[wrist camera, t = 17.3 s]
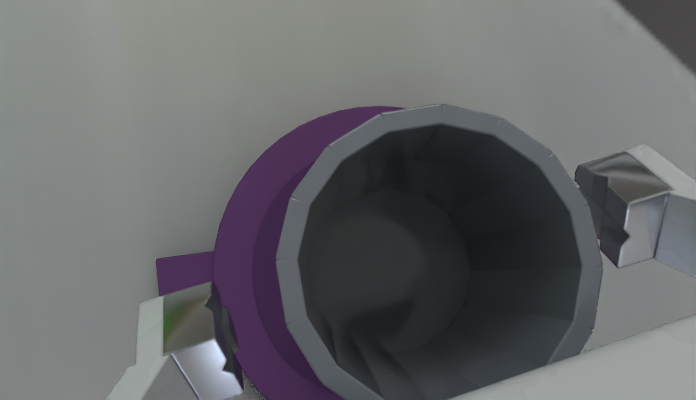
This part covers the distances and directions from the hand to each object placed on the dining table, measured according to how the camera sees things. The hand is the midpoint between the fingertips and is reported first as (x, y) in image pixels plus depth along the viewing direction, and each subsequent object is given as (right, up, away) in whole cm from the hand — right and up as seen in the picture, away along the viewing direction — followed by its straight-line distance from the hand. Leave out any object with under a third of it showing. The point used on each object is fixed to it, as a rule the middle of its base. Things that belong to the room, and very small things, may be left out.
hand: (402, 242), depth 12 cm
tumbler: (0, -1, +6) cm, 6 cm away
